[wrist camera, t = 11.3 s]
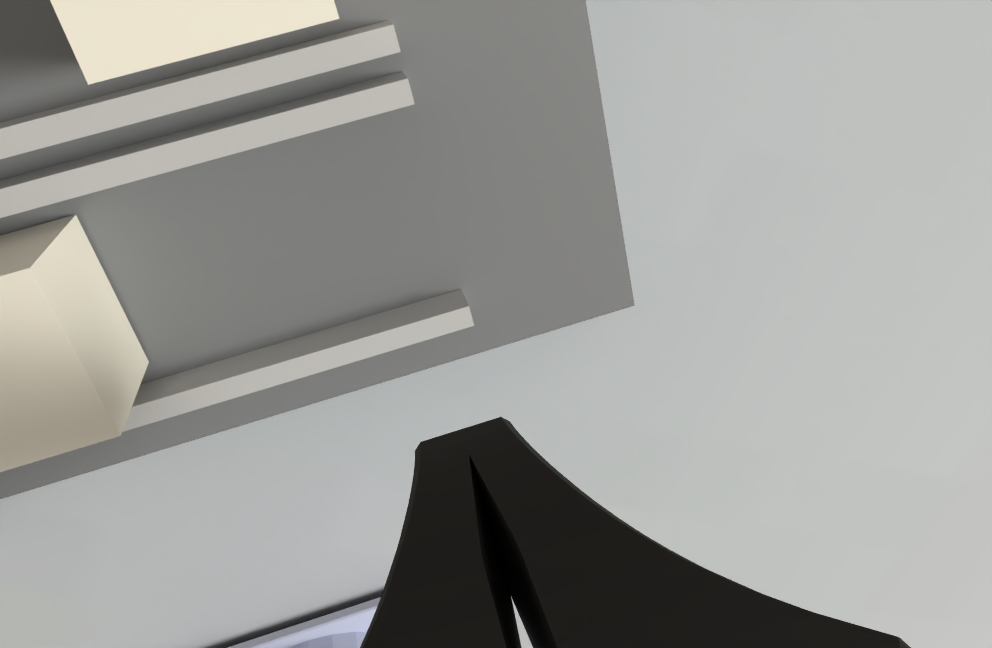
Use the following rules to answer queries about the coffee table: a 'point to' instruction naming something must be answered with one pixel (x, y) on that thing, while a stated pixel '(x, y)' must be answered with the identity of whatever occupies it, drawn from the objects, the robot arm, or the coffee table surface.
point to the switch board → (319, 202)
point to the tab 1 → (61, 346)
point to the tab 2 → (174, 29)
